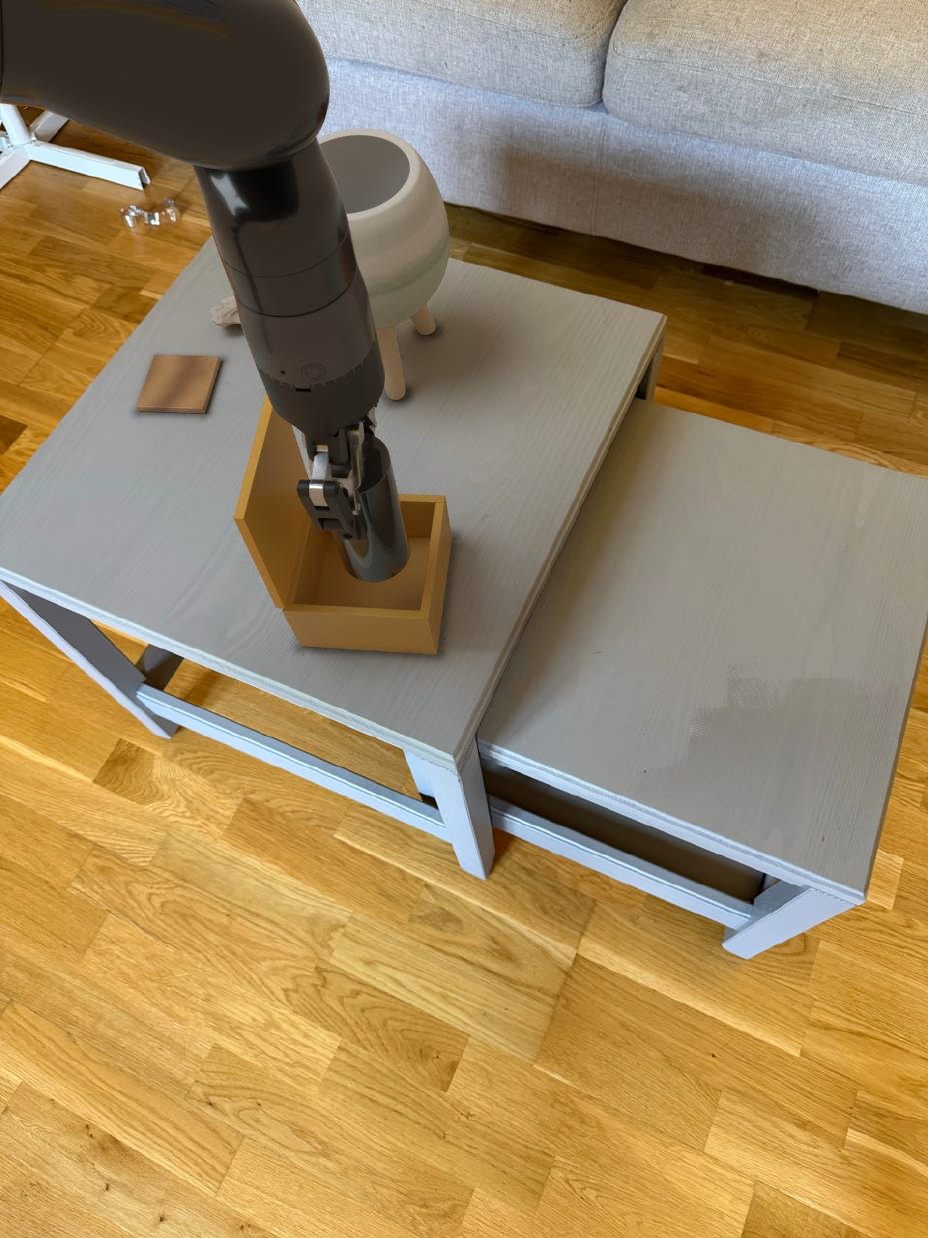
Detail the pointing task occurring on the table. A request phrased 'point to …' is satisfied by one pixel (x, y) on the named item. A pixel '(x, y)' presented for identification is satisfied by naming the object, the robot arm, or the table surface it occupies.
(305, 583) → the chest
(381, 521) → the dark grey cylinder
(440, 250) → the planter
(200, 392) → the pad
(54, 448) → the table surface
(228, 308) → the decorative stone
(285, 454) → the lid
